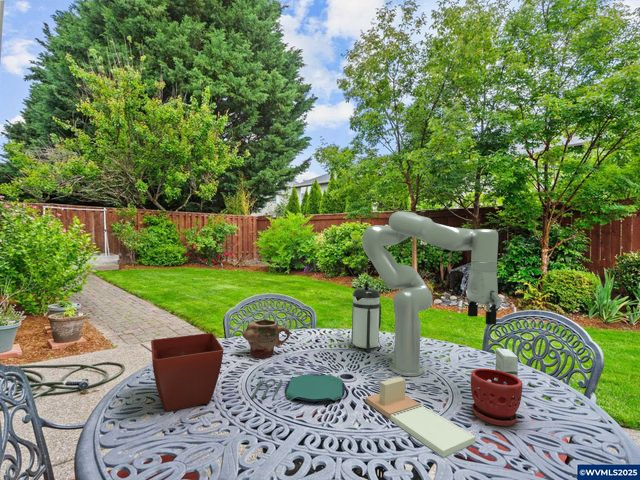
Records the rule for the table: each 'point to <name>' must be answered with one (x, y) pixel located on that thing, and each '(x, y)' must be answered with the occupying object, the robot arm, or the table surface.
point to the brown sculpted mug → (264, 337)
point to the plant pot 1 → (186, 369)
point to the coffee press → (366, 318)
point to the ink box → (506, 362)
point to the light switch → (391, 397)
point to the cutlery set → (309, 388)
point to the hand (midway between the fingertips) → (481, 320)
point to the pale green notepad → (433, 430)
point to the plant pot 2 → (495, 396)
